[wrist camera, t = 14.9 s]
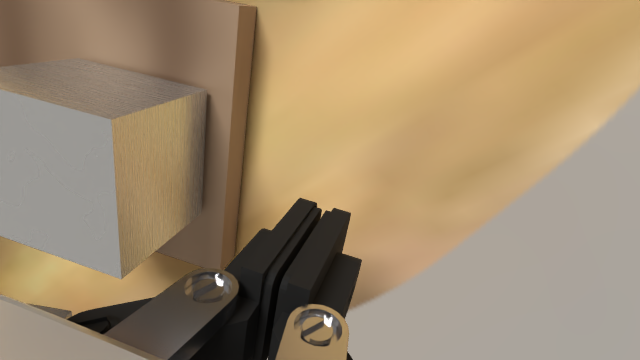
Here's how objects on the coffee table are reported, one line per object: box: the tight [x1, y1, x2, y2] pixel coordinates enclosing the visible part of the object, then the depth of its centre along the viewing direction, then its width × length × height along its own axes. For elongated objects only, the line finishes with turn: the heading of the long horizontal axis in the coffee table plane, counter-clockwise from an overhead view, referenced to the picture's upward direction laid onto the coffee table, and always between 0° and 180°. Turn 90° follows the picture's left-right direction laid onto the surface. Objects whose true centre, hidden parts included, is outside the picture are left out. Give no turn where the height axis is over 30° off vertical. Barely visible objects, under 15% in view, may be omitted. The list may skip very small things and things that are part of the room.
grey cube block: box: [0, 58, 207, 279], centre depth 15 cm, size 6×6×5 cm
